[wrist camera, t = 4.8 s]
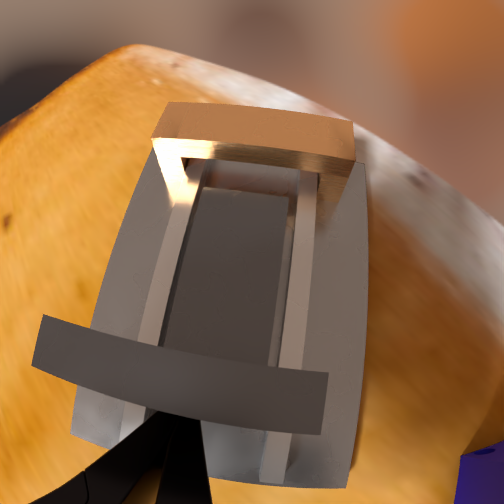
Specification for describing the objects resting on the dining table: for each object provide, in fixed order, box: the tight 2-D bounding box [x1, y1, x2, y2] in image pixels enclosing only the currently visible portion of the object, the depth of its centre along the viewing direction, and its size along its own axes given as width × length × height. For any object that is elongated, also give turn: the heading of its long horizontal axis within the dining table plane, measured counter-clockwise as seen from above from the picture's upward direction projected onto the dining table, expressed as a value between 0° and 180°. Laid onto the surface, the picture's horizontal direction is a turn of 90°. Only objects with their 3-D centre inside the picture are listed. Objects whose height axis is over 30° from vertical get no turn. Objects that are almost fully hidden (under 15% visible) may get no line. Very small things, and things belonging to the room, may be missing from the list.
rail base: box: [70, 102, 368, 488], centre depth 15 cm, size 19×14×5 cm
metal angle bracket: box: [31, 187, 329, 435], centre depth 11 cm, size 10×6×9 cm, turn 171°
